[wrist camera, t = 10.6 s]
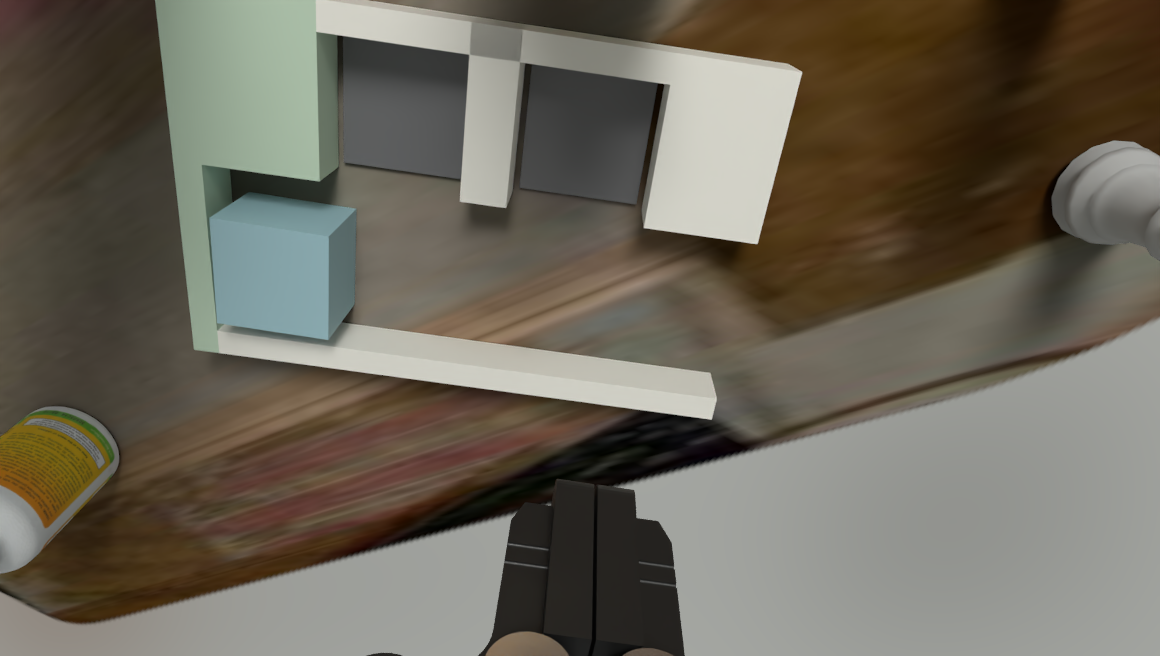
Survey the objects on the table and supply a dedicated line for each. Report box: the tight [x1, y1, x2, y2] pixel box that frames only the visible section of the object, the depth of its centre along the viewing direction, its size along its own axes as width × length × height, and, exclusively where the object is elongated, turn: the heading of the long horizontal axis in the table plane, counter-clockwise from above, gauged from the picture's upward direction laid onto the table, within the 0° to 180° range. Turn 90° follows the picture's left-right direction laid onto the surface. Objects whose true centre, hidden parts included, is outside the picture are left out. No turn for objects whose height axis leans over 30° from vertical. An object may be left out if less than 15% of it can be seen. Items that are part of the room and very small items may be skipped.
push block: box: [209, 192, 356, 340], centre depth 34 cm, size 5×5×4 cm
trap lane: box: [155, 0, 802, 419], centre depth 33 cm, size 25×16×2 cm, turn 82°
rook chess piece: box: [1052, 141, 1160, 261], centre depth 29 cm, size 4×4×8 cm
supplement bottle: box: [0, 406, 119, 573], centre depth 37 cm, size 5×5×10 cm
